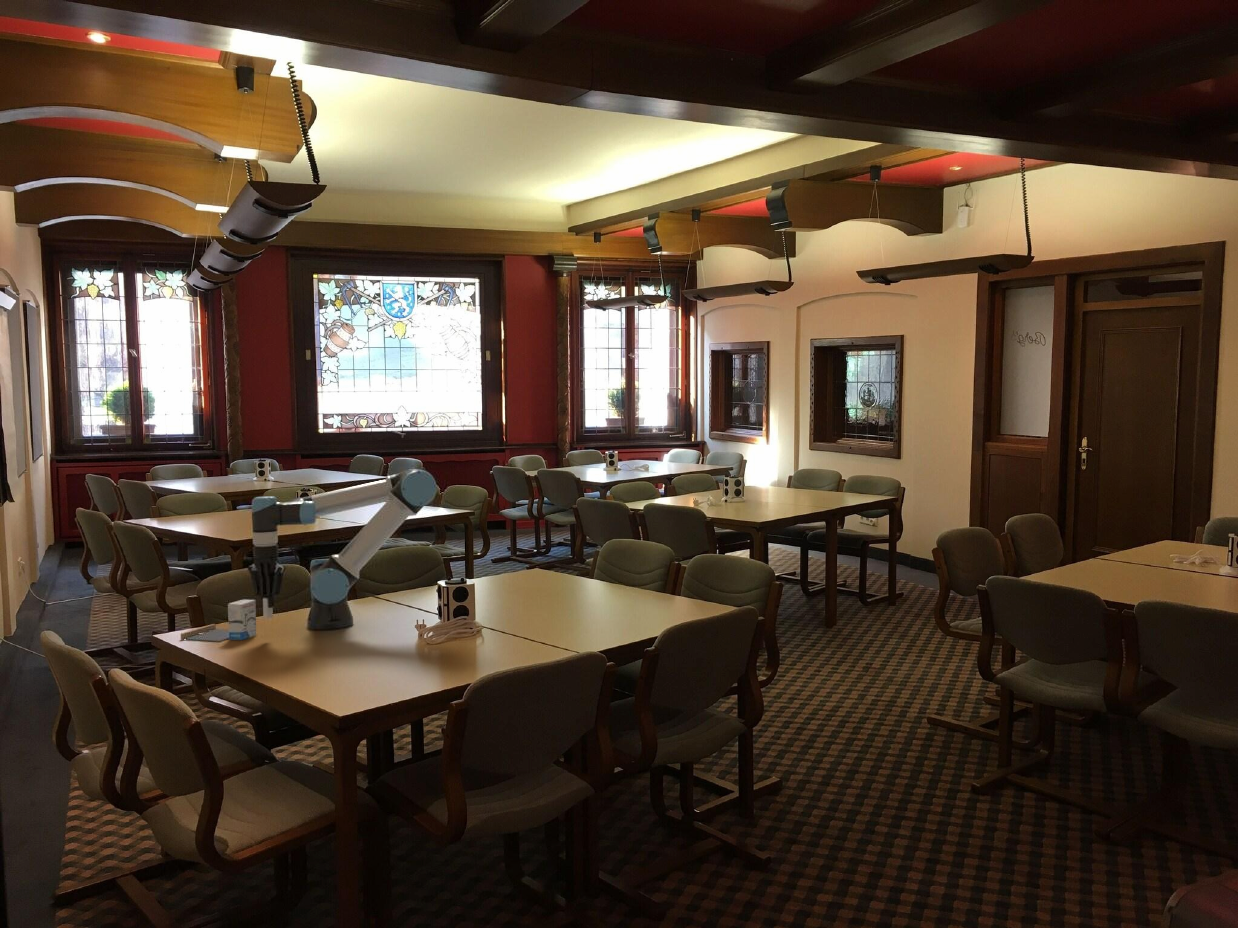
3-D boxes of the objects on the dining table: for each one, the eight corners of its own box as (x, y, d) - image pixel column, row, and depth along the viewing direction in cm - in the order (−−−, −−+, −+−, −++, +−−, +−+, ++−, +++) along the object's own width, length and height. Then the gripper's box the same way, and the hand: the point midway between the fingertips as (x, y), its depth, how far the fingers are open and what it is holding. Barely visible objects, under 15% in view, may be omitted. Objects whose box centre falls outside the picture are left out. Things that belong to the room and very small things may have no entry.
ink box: (242, 640, 304) (240, 604, 303) (228, 640, 305) (226, 603, 304) (257, 634, 312) (256, 599, 312) (244, 634, 313) (242, 598, 313)
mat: (250, 631, 317) (250, 625, 317) (219, 642, 302) (219, 635, 302) (213, 629, 321) (213, 623, 321) (180, 639, 307) (180, 633, 307)
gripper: (290, 543, 306) (292, 616, 307) (256, 542, 310) (258, 614, 311) (275, 546, 299) (278, 620, 300) (240, 545, 303) (243, 619, 304)
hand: (268, 617), depth 305 cm, fingers closed
